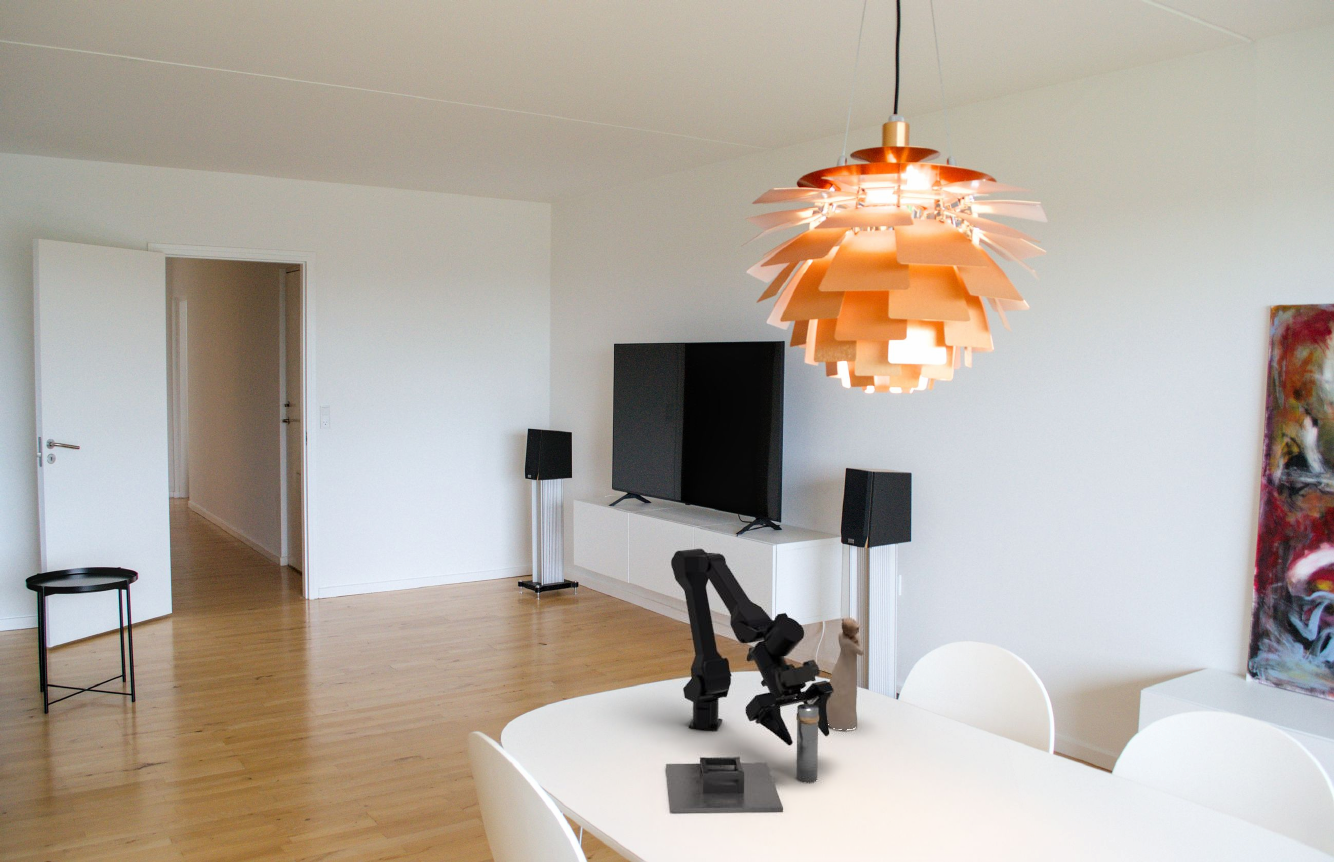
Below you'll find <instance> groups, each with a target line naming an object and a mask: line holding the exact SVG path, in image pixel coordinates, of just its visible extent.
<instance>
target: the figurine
mask: <svg viewBox="0 0 1334 862" xmlns="http://www.w3.org/2000/svg"><path fill="white" fill-rule="evenodd" d="M840 625H841V630H840V631H839V633H838V635H837V638H838V639H837V640H838V644H839V647H840V652H839V655H838V658H837V660H836V663H835V664H834V667H833V670H832V671H831V674H830V679H829V682H830V684H831V686H832V687H833V689H834V692H833V693H832V694H831V697H830V698H829V700H828V701H827V704H826V712H827V719H828V724H829V726H830V727H832V728H835V729H842V730H847V729H853V728H855V727H856V726H857V727H858V715H857V714H858V713H857V703H858V702H857V699H858V698H857V695H858V655H859V656H861V657H862V656H863V655H864V646H863V645H862V641H861V638H860V636H859V634H858V633H859V632H860V627H861V626H860V624H859V622H857V620H856V619H854V618H853V617H846V618H843V617H842V618H841V624H840ZM830 727H829V728H830ZM832 728H831V729H832Z"/></svg>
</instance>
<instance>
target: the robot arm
mask: <svg viewBox="0 0 1334 862" xmlns="http://www.w3.org/2000/svg"><path fill="white" fill-rule="evenodd" d="M670 565H671V568H672V573H673V576H674V579H675V581H676V582H677V584H678V585H679V586H680V588H682V589H683V591H684V597H685V603H686V607H687V613H688V619H689V626H690V631H691V638H692V642H693V649H694V658H693V661H692V664H691V666H690V675H691V676H690V677H691V678H690V680H688V682H687V683H686V684H685V686H684V687H683V688H682V689H683V690H682V691H683V696H684V698H685V699H686V700H687V701H690V702H691V703H692V719H691V721H690V723H689V724H688V726H687V727H688V728H689V729H696V730H697V729H698V730H707V731H718V729H719V728H720V727H721V725H722V723H723V719H722V718H719V701H720V699H722V698H727V697H728V694H729V691H730V687H731V684H732V676H733V675H732V673H731V670H730V662H729V659H728V658H727V657H723V656H722V655H721V654H720V652H719V651H718V648H717V647H718V646H717V641H716V636H715V630H714V629H715V628H714V624H713V619H712V615H711V614H712V613H711V608H710V601H709V596H708V590H707V585H708V582H709V581H710V583H711V585H712V586H713V588H714V589H715V591H716V593H717V594H718V596H719V598H720V599H721V602H723V604H724V606H725V607H726V609H727V611H728V613H729V615H730V621H729V625H730V628H732V631H733V633H734V636H735V637H736V639H737V641H738V642H739V643H740V644H744V645H745V644H746V645H747V644H751V643H756V644H755V645H754V646H753V647H752V646H751V647H748V653H747V655H746V661H747V662H754V663H755V664H756V665H755V666H756V667H757V669H758V672H759V673H760V676H761V677H762V680H761V682H760V684H761V686H762V688H764V687H766V688H767V689H768V692H764V693H760V694H756V695H754V697H753V698H752V699H751V700H750V701H749V703H748V704H747V705H746V706H745V715H746V716H747V720H748V721H749V722H753V721H754V722H755V723H756V725H757V724H759V725H761V726H763V727H764V728H766V729H767V730H769V731H770V732H771V733H773V734H774V735H775V736H776V737H778V738H779V739H780V740H781V741H783V743H785V744H786V745H787V746H789V747H790V746H792V744H793V738H792V736H791V734H790V732H789V729H788V727H787V726H786V723H785V721H784V720H783V716H782V713H781V708H782V707H786V706H787V707H788V706H791V705H796V704H799V703H800V704H801V703H802V704H812V705H816V706H818V714H819V722H818V730H820V732H821V733H822V735H824V736H825V737H828V736H829V735H830V727H829V726H828V719H827V712H826V704H827V701H828V700H829V698H830V697H831V694H832V693H833V692H834V689H833V687H832V686H831V684H830V681H827V680H822V681H817V680H816V677H818V676H820V673H821V672H820V668H819V665H818V664H817V662H816V661H815V659H810V660H807V661H803V663H802V666H801V665H800V666H798V667H796V666H795V665H794V664H792V663H790V664H788V663H787V661H786V658H785V657H787V656H789V654H791V653H792V652H793V650H794V649H795V648H796V647H797V646H798V645H799V644H800V642H801V641H802V640H803V639H804V637H805V630H804V627H803V626H802V624H800V623H799V622H798V621H797V620H796V619H793V618H792V617H789V616H788V615H787V613H786V612H782V613H778V614H777V615H776V616H775V617H774V620H773V619H772V618H771V617H770V615H769V614H768V613H767V612H766V611H765V610H764V608H762V607H761V606H760V605H759V604H757V603H754V602H753V601H752V600H750V598H749V597H748V596H747V593H746V592H745V591H744V589H743V587H742V585H741V584H740V583H739V581H738V580H737V579H736V577H735V575H734V573H733V572H732V571H731V569H730V568H729V566H728V563H727V561H726V557H725V556H724V555H723V554H721V553H719V552H718V553H717V552H716V553H715V552H707V551H705V550H704V549H703V548H694V549H691V548H690V549H685V550H684V549H683V550H677V551H675V553H674V554H673V556H672V557H671V560H670ZM816 681H817V682H816ZM809 682H812V683H811V685H809V687H808V688H807V689H806V690H804V691H802V690H803V689H804V688H805V687H807V684H806V683H809Z"/></svg>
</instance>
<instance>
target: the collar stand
mask: <svg viewBox="0 0 1334 862" xmlns="http://www.w3.org/2000/svg"><path fill="white" fill-rule="evenodd" d="M665 771H666V779H667V790H668V799H669V808H670V814H685V813H686V814H690V813H691V814H693V813H694V814H695V813H698V814H699V813H702V814H703V813H704V814H705V813H707V814H708V813H709V814H711V813H779V812H780V813H782V812H784V806H783V803H782V801H781V798H780V796H779V793H778V790H777V788H776V785H775V782H774V779H773V776H772V775H771V772H770V769H769V765H768V763H767V762H742V763H741V757H739V756H733V757H731V756H730V757H726V756H725V757H717V756H716V757H701V756H700V757H699V763H666V764H665Z"/></svg>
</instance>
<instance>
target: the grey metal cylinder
mask: <svg viewBox="0 0 1334 862" xmlns="http://www.w3.org/2000/svg"><path fill="white" fill-rule="evenodd" d="M796 709H797V710H796V711H797V712H796V716H795V717H796V766H795V767H796V771H795V773H796V775H795V778H796V780H797V781H798V782H800V783H804V782H806V784H811V783H810V782H813V783H815V782H817V781H818V761H819V760H818V758H819V756H818V753H819V752H818V751H819V750H818V749H819V745H818V744H819V728H818V722H819V714H818V706H816V705H812V704H804V703H802V704H801V703H800V704H798V705H797V708H796ZM816 780H817V781H816ZM814 781H815V782H814ZM808 782H809V783H808Z"/></svg>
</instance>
